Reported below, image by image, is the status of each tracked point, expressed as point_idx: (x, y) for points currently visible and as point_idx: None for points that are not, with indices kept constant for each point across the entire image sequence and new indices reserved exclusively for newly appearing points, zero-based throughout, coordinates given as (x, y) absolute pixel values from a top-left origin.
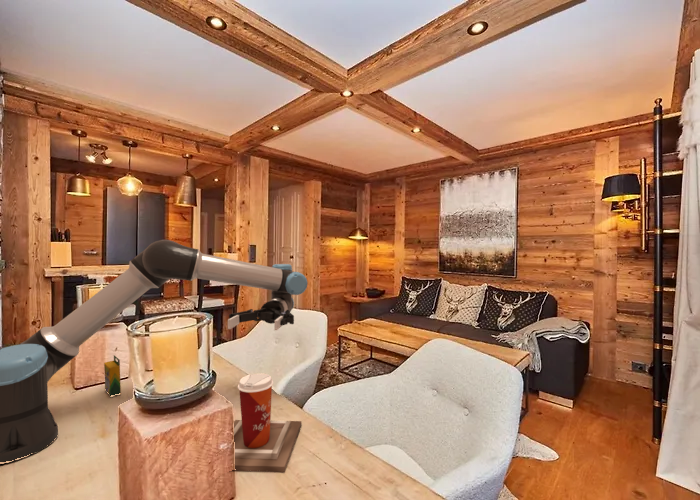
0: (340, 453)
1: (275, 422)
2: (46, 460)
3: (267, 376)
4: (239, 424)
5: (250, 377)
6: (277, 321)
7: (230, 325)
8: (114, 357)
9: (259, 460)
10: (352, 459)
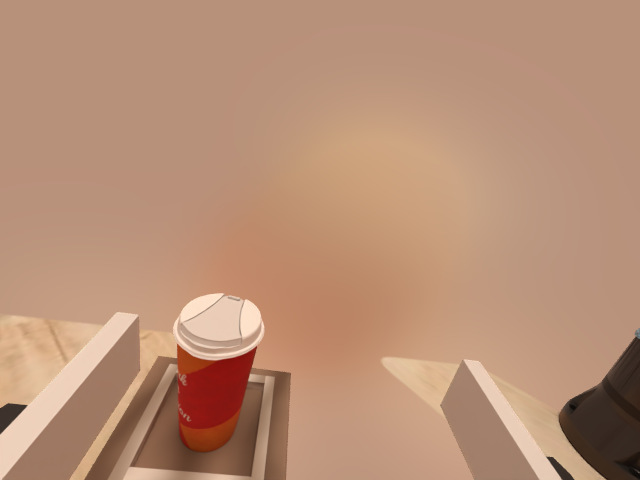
0: (24, 396)
1: (157, 472)
2: (526, 418)
3: (190, 320)
4: (258, 466)
5: (237, 322)
6: (112, 324)
7: (450, 392)
8: None
9: None
10: (11, 378)
